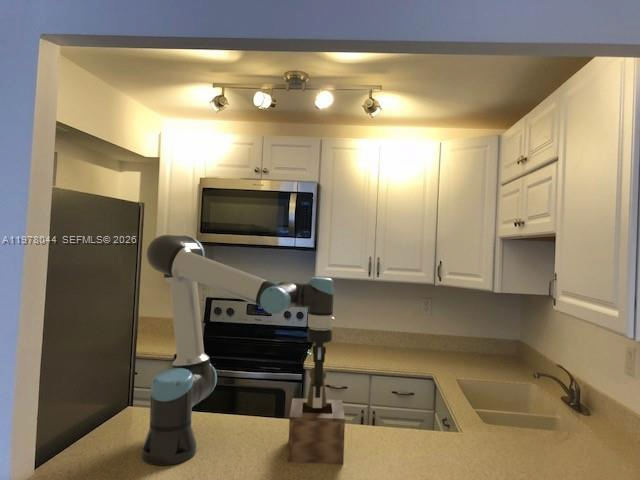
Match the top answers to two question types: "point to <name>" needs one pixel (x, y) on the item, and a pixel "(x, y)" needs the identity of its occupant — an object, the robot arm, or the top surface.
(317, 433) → the walnut box
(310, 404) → the cork
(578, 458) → the top surface
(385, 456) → the top surface
